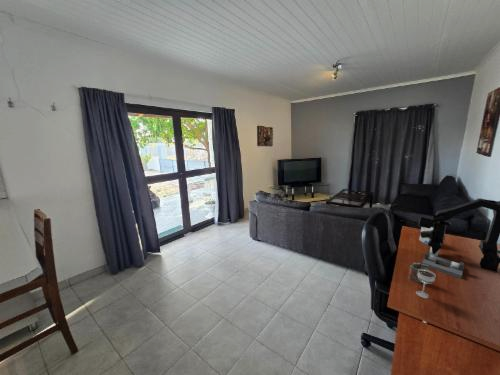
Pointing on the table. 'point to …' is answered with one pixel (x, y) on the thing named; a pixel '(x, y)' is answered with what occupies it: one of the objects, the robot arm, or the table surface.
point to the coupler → (435, 253)
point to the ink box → (425, 240)
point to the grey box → (416, 271)
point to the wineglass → (425, 280)
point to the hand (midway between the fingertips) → (434, 252)
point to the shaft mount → (454, 269)
